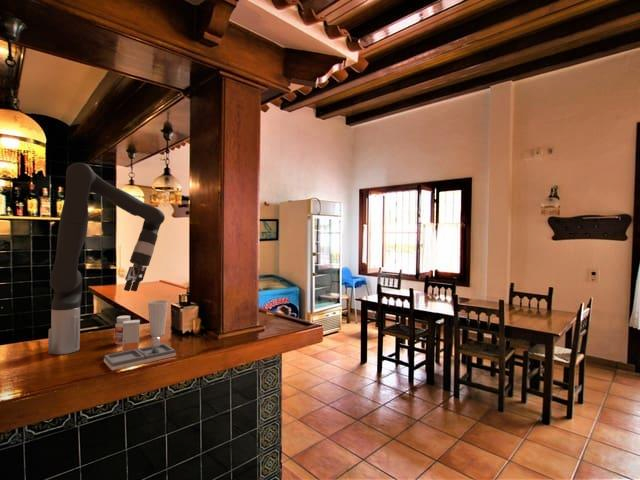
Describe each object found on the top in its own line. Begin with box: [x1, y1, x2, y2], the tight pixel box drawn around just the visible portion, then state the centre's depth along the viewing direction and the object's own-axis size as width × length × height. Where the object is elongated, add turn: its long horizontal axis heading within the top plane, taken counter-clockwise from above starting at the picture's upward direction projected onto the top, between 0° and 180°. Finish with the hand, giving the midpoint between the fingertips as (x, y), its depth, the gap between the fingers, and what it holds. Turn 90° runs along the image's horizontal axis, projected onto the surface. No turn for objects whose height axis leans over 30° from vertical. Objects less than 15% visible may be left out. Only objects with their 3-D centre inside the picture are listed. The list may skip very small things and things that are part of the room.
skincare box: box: [121, 319, 141, 352], centre depth 140 cm, size 6×4×12 cm
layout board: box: [103, 336, 176, 371], centre depth 131 cm, size 22×11×7 cm, turn 135°
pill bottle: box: [114, 315, 131, 346], centre depth 150 cm, size 6×6×11 cm
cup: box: [147, 299, 169, 337], centre depth 162 cm, size 8×8×16 cm
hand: (129, 290), depth 142 cm, fingers open, 8 cm apart
